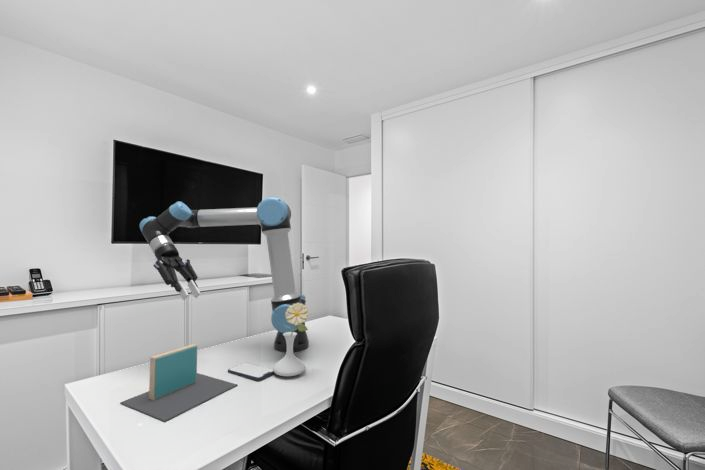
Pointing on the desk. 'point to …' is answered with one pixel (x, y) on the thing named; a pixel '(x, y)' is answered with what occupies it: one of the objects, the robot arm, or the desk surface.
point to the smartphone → (251, 371)
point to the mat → (179, 398)
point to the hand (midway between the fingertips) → (191, 296)
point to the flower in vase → (290, 362)
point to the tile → (172, 371)
